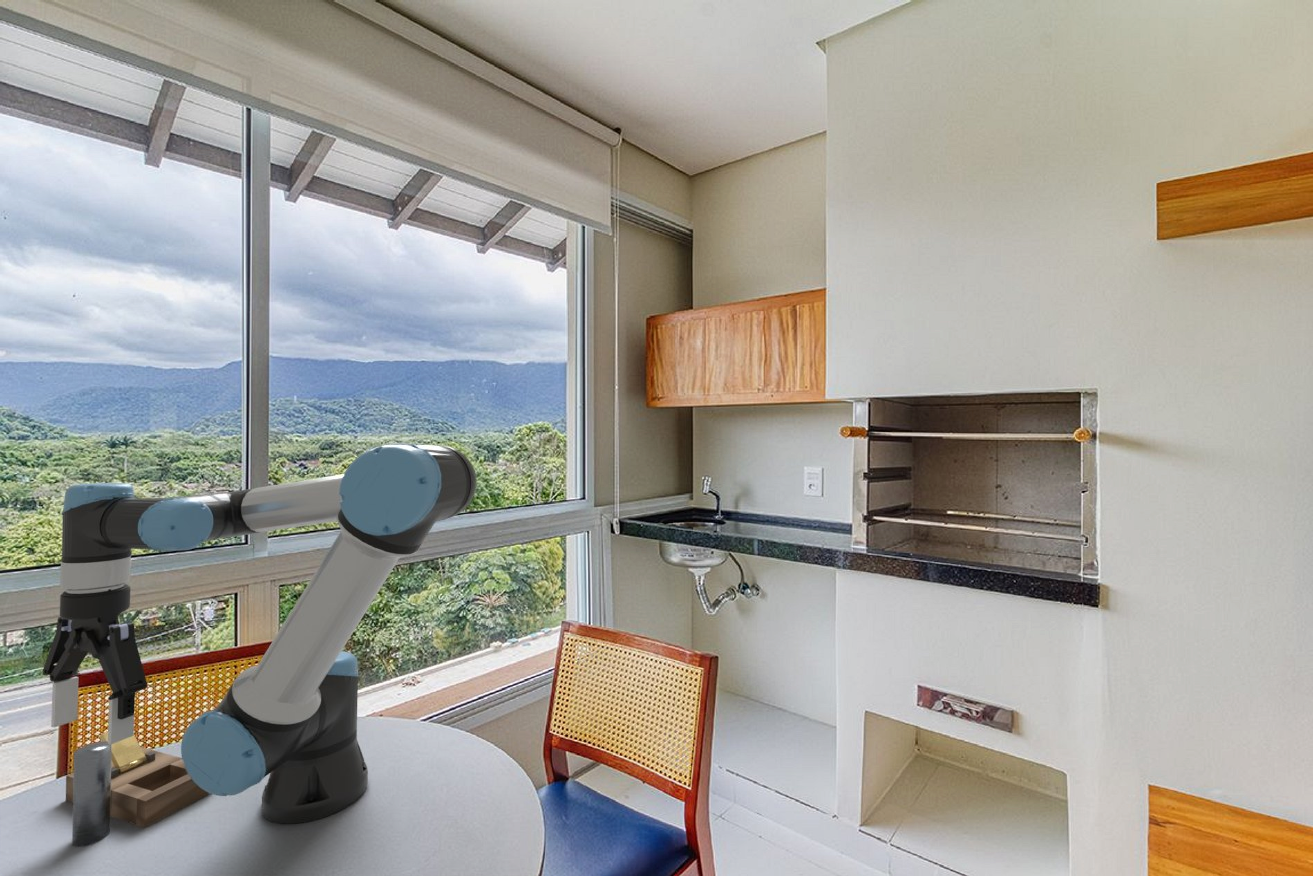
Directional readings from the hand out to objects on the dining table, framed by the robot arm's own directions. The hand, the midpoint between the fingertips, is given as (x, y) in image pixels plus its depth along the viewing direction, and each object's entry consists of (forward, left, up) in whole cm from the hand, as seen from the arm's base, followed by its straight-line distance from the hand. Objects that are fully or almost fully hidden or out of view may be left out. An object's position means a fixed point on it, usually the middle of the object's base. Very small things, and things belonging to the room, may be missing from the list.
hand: (91, 731), depth 86 cm
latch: (+10, -9, -9) cm, 16 cm away
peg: (0, 0, -15) cm, 15 cm away
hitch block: (+5, -9, -15) cm, 18 cm away
